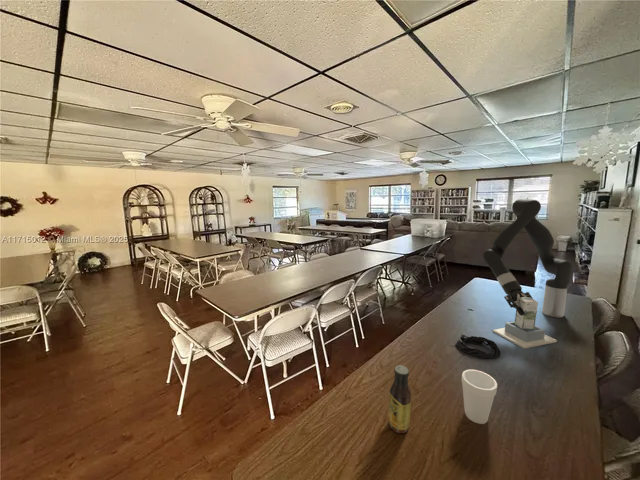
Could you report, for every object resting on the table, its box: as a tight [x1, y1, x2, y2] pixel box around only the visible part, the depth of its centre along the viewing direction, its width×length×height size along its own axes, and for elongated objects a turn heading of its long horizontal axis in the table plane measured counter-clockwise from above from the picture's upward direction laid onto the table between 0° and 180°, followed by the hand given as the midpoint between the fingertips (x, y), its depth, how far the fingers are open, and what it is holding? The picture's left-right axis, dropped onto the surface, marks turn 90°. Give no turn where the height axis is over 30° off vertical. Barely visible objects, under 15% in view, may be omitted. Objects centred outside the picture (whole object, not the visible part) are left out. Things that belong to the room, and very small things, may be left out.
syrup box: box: [514, 297, 539, 329], centre depth 126 cm, size 6×6×14 cm
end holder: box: [492, 320, 558, 350], centre depth 127 cm, size 20×16×6 cm
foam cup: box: [461, 369, 498, 425], centre depth 82 cm, size 10×9×13 cm
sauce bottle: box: [388, 364, 412, 434], centre depth 78 cm, size 7×6×20 cm
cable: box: [455, 334, 502, 359], centre depth 117 cm, size 17×14×4 cm
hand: (529, 313), depth 124 cm, fingers closed on syrup box, 7 cm apart
